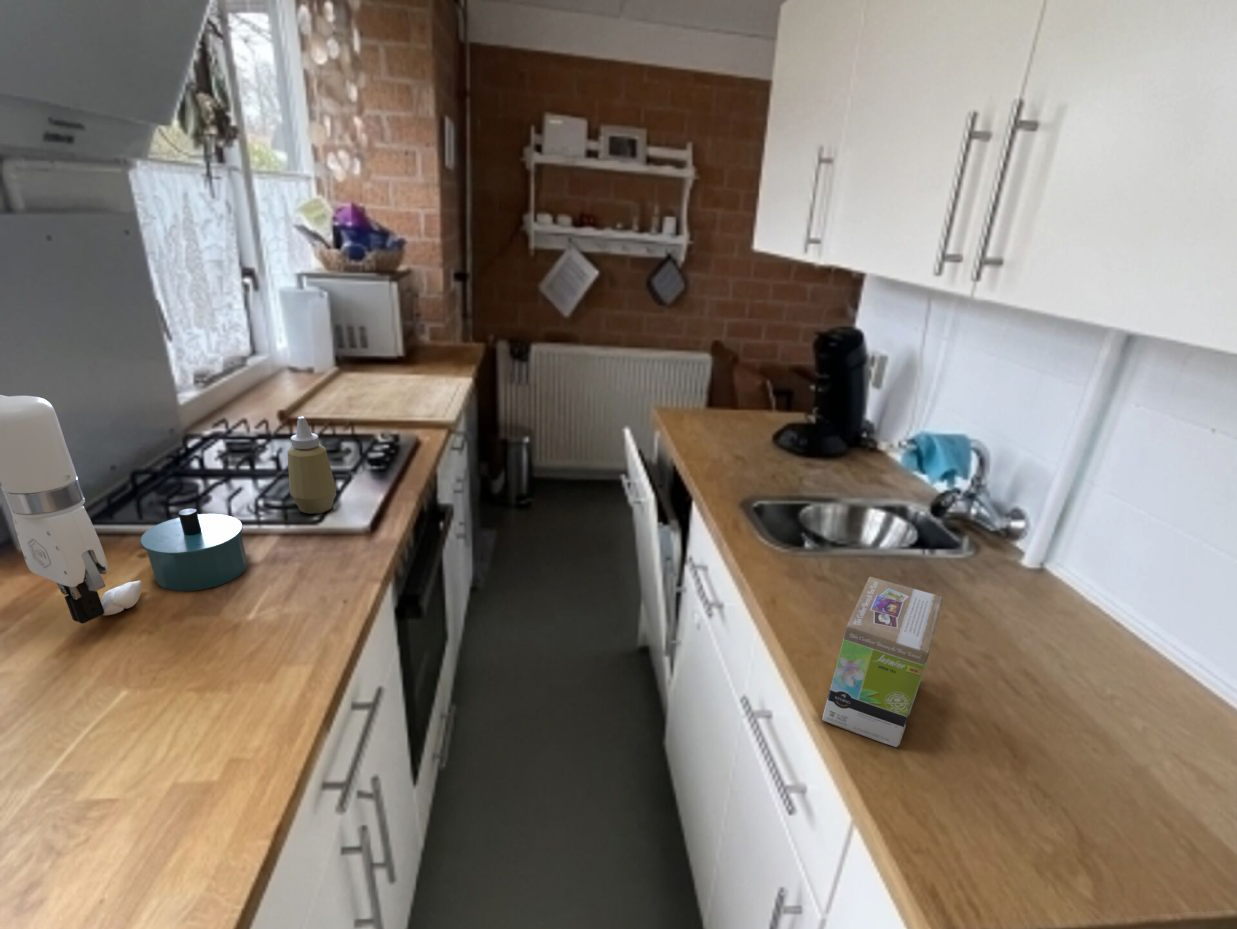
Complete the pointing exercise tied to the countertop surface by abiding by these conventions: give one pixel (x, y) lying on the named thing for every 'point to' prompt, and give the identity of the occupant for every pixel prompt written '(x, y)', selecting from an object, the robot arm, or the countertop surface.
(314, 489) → the squeeze bottle
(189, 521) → the pot lid
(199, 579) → the pot
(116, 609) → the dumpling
